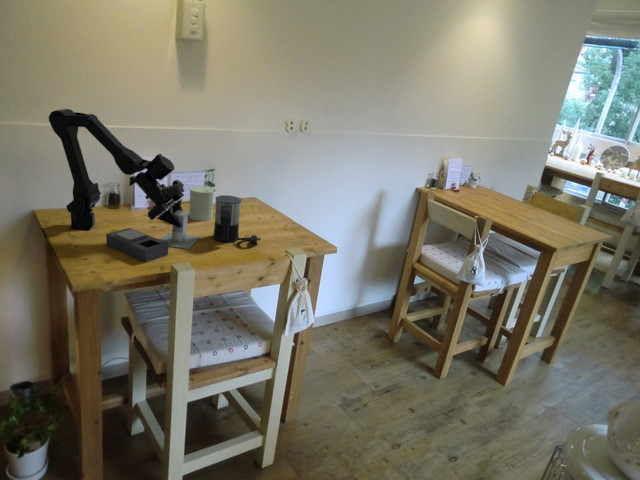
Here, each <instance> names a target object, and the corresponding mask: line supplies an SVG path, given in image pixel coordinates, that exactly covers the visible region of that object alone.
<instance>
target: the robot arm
mask: <svg viewBox="0 0 640 480" xmlns="http://www.w3.org/2000/svg"><path fill="white" fill-rule="evenodd" d="M48 122H49V123H50V126H51V128H52V130H53V132H54V133H55V134H56V135H57V137H58V138H59V139H60V141H61V144H62V147H63V150H64V154H65V157H66V161H67V163H68V166H69V167H68V168H69V171H70V173H71V177H72V181H73V187H72V192H71V193H72V198H73V199H72V201H70V202H69V203H68V204H66V210H67V212H68V213H70V221H71V223H70V226H69V229H71V230H82V231H83V230H84V231H90V230H91V229H92V228H93V227H94V226H95V225H96V219H95V212H94V209H93V208H95V206H96V205H97V203H98V202H99V201H100V199H101V195H102V193H101V191H100V188H99V184H98V182H95V183H93V181H92V180H91V179H90V176H89V173H88V169H87V167H86V163H85V159H84V156H83V152H82V149H81V145H80V141H79V138H78V132H79V128H85V129H86V130H87V131H88V132H89V133H90V134H91V135H92V136H93V137H94V138H95V139H96V140H97V142H99V143H100V144H101V146H102V147H104V148H105V149H106V150H107V152H108V153H109V154H111V156H112V157H113V159H114V162H115V164H116V166H117V167H118V169H119V170H120V171H121V173H123V174H124V175H126V176H127V175H128V176H129V184H128V185H129V186H130V187H131V186H134V185H137V186H138V187H139V188H140V189H141V190H142V192H143V193H144V194H145V196H144V197H145V199H146V200H148V199H149V200H150V201H151V202H152V203H153V205H154V206H153V208H151V209H150V210H149V211H148V212H147V217H148V218H149V219H150V220H151V221H153V220H154V219H156V220H160V221H163V222H166V223H167V224H170V225H171V226H173V225H174V226H176V227H178V228H180V227H181V224H180V222H179V221H178V219H177V218H176V217H175V215H174V213H175V212H176V211H177V210H182V211H184V210H183V208H182V203H183V202H182V201H183V197H184V196H185V194H184V192H185V189H184V186H185V185H184V183H182V181H180V180H179V179H176V180H175V179H174V180H173V181H172V183H171V184H170V185H168V186H167V185H166V184H164V183H160V182H159V181H162V180H164V179H165V178H166V177H168V175H170V173H172V172H174V170H175V165H174V163H173V162H172V161H171V160H170V159H168V157H166V156H163V155H162V154H161V153H158V154H157V155H155V156H154V158H153V159H151V160H148V159H144V158H143V157H141V156H140V155H139V154H137V153H136V152H135V151H133V150H132V149H130V148H128V147H126V146H125V145H123V144H122V143H121V141H119V139H118V138H117V136H115V135H114V134H112V132H111V131H110V130H109V129H108V128H107V127H106V126H105V124H103V123H102V122H101V121H100V120H99V119H98V116H97V115H95V114H93V113H84V112H75V111H73V110H72V109H71V108H70V109H69V108H63V109H56V110H53V111H51V112H50V114H49V116H48ZM145 170H146V171H145ZM143 171H144V172H143ZM136 173H137V174H136ZM134 174H136V175H134ZM131 175H132V176H131ZM158 180H159V181H158Z"/></svg>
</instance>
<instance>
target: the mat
mask: <svg viewBox="0 0 640 480" xmlns="http://www.w3.org/2000/svg"><path fill="white" fill-rule="evenodd" d="M160 240H161V241H164V242H166V243H168V248H176V249H183V250H191V248H192V247H194V245H196V243H197V242H198V241H199V240H200V237H199V236H193V235H186V239H185V241H184V242H183V243H177V242H172V232H168V233H166V235H165V236H164V237H163V238H161V239H160Z"/></svg>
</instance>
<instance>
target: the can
mask: <svg viewBox="0 0 640 480" xmlns="http://www.w3.org/2000/svg"><path fill="white" fill-rule="evenodd" d="M214 193H215V189H214V188H212V187H209V186H204V185H195V186H191V187H190V188H189V211H188V219H190V220H192V221H199V222H207V221H211V220H212V219H213V211H214V210H213V208H214Z"/></svg>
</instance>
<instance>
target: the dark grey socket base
mask: <svg viewBox="0 0 640 480" xmlns="http://www.w3.org/2000/svg"><path fill="white" fill-rule="evenodd" d="M105 237H106V238H105V242H106V247H109V248H111V249H113V250H116V251H118V252H120V253H122V254H125V255H127V256H129V257H132V258H134V259H137V260H139V261H141V262H143V263H145V264H146V263H148V262H152V261H155V260H157V259H161V258H163V257H166V256H168V255H169V246H168V243H166V242H164V241H161V240H162V239H158V238H156V237H154V236H151V235H148V234H146V233H144V232H141V231H139V230H136V229H134V228H131V227H127V228H124V229H120V230H115V231H112V232H108V233H106V234H105Z"/></svg>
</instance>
